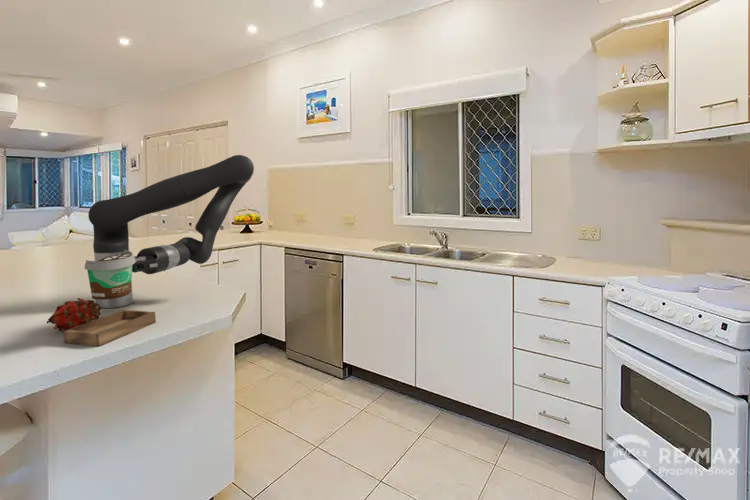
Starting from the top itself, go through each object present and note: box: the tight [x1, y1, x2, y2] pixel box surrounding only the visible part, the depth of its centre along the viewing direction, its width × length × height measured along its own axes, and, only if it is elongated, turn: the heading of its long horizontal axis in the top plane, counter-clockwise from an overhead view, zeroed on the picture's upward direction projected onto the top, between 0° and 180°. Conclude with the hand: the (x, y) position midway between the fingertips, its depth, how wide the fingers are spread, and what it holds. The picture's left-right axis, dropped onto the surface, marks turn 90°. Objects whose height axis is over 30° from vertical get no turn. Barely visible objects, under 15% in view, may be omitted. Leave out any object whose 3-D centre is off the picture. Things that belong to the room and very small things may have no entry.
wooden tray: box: [62, 309, 157, 347], centre depth 101 cm, size 10×18×3 cm, turn 169°
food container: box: [84, 250, 135, 300], centre depth 99 cm, size 12×6×10 cm, turn 168°
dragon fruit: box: [46, 297, 102, 332], centre depth 103 cm, size 8×8×12 cm
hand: (109, 270), depth 99 cm, fingers closed on food container, 1 cm apart
